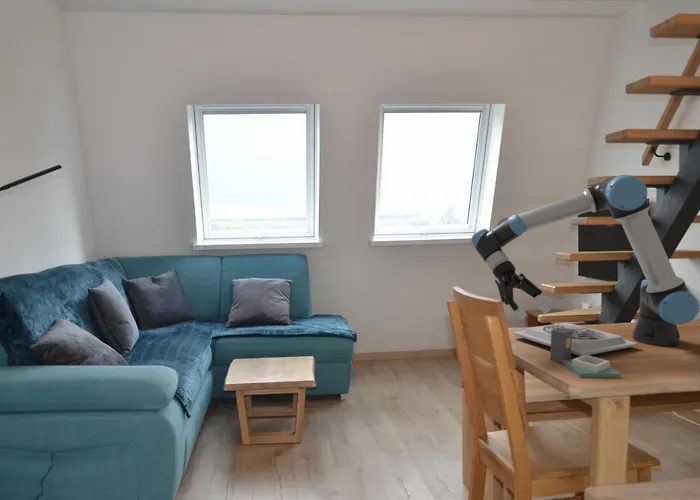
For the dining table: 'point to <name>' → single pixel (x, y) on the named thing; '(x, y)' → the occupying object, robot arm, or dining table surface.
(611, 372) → the header board
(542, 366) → the dining table surface
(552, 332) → the plug
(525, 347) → the dining table surface
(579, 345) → the ventilation fan
